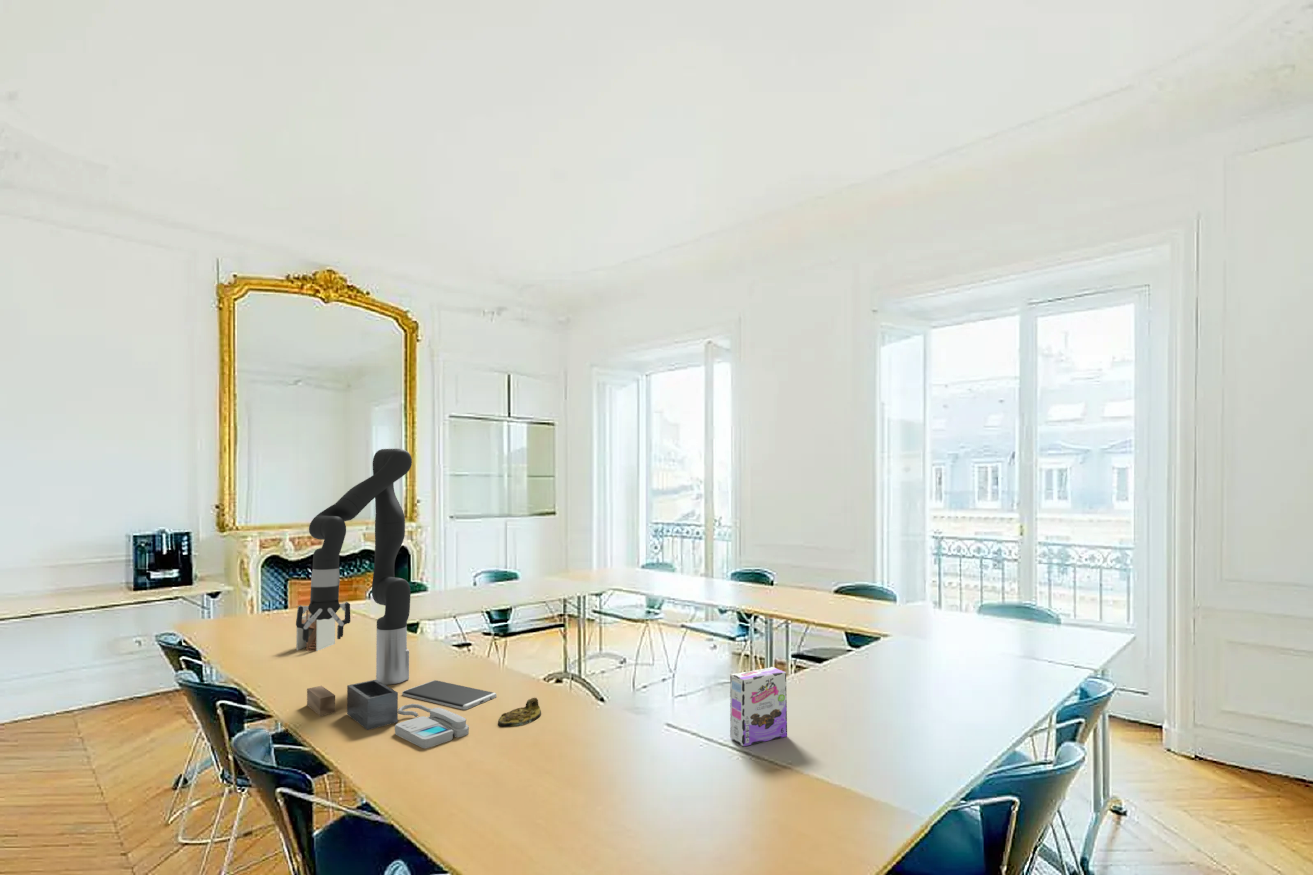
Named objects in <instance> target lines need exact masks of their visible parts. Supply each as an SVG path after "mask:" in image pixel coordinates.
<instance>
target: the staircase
mask: <svg viewBox="0 0 1313 875" xmlns="http://www.w3.org/2000/svg"><path fill="white" fill-rule="evenodd" d="M310 615H311V613H310V611H309V610H306V612H305V615H302V623H303V624H304V623H305V622H306V621H307V619H308V618H309V617H310ZM308 629H309V637H308V642H306V643H305V641H304V640H303V629H302V628H297V627H296V637H295V638H296V642H295V644H296V645H295V646H296V651H299V650H302V649H304V648H306V651H307V652H308V651H309V652H318V650H319V651H321V650H323V649H326V648H328V647H331V646H332V645H335V644H336V620H335V619H334V618H333V617H332V618H331V619H322V620H317V619H315V620H314V622H313V623H312V624H311V625H310V626H309V627H308Z"/></svg>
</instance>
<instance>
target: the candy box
mask: <svg viewBox="0 0 1313 875" xmlns="http://www.w3.org/2000/svg"><path fill="white" fill-rule="evenodd" d="M729 676H730V684H729V685H730V688H729V689H730V692H729V693H730V695H729V697H730V699H729V700H730V705H729V706H730V711H729V712H730V718H729V719H730V730H729V732H730V735H729V736H730V739H731V740H732V741H734V742H735V743H737V744H739V745H740V746H741V747H748V746H752V745H754V744H761V743H764V742H768V741H773V740H778V739H781V738H782V739H783V738H785V737H788V716H787V715H788V713H787V712H788V710H787V709H788V706H787V705H788V704H787V703H788V702H787V672H786V671H784V670H782V669H779V668H776V667H774V666H769V667H765V668H762V669H761V668H760V669H754V670H750V671H744V672H737V673H730V674H729Z"/></svg>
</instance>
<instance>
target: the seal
mask: <svg viewBox="0 0 1313 875" xmlns="http://www.w3.org/2000/svg"><path fill="white" fill-rule="evenodd" d="M541 716H542V710H541V708H540V704H539V699H538V698H537V697H531V698H529V699H528V700H526V703H525V706H524V707H517V708H514V709H512V710H509V711H508V712H504V713H502V714H501V716H500V717H499V718H498V721H497V725H498V726H499V727H519V726H523V725H527V724H529V723H532V722H534V721H536V720H537V719H539V718H540V717H541Z"/></svg>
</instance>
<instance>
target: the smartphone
mask: <svg viewBox="0 0 1313 875" xmlns="http://www.w3.org/2000/svg"><path fill="white" fill-rule="evenodd" d="M401 694H402V696H403V697H408V698H412V699H415V700H420V701H426V702H429V703H433V704H436V705H437V704H438V705H442V706H446V707H449V708H450V707H451V708H453V709H459V710H462V711H465V710H469V709H471V708H474V707H476V706H479V705H480V704H484V703H485V702H488V701H490V700H493V699H496V698H497V693H496V692H492V691H489V690H483V689H479V688H474V687H469V686H464V685H459V684H455V683H452V682H451V683H450V682H445V681H441V680H435V679H434V680H431V681H428V682H425V683H423V684H420V685H417V686H412V687H411V688H408V689H405V690H403V691H402V693H401Z"/></svg>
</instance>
